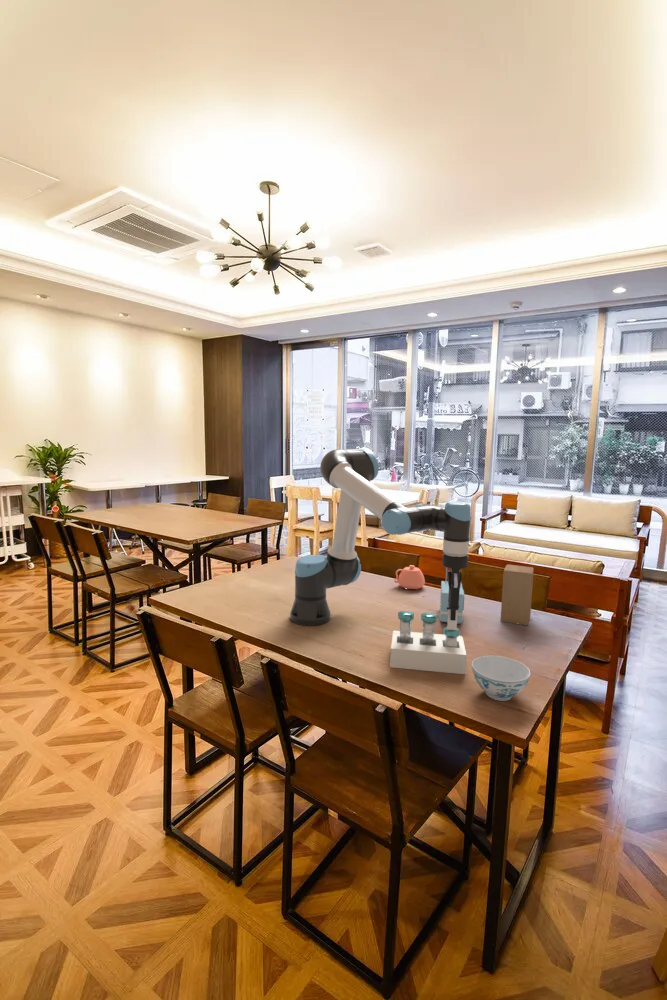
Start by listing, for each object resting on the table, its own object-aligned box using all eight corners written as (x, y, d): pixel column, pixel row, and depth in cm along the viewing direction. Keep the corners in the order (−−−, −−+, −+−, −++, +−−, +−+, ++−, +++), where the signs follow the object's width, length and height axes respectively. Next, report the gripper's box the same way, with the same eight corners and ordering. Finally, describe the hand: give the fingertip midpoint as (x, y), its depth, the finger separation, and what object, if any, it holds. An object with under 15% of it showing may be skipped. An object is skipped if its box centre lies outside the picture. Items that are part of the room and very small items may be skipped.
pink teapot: (426, 591, 225) (427, 569, 223) (395, 591, 225) (396, 568, 224) (422, 583, 237) (423, 562, 236) (392, 582, 237) (393, 561, 236)
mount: (390, 667, 151) (390, 648, 151) (392, 647, 165) (393, 630, 164) (465, 674, 148) (466, 655, 147) (461, 653, 161) (462, 636, 161)
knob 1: (396, 645, 155) (397, 615, 154) (397, 638, 160) (398, 610, 158) (412, 646, 154) (413, 617, 153) (412, 640, 159) (413, 611, 158)
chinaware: (467, 702, 132) (469, 674, 131) (473, 677, 146) (474, 651, 145) (528, 714, 127) (530, 685, 126) (528, 687, 141) (530, 661, 140)
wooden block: (530, 617, 195) (533, 567, 193) (528, 626, 186) (532, 573, 184) (503, 613, 199) (506, 564, 197) (500, 621, 190) (503, 570, 188)
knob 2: (442, 661, 153) (444, 631, 152) (441, 654, 158) (443, 626, 157) (458, 662, 152) (460, 633, 151) (457, 656, 157) (459, 627, 156)
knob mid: (419, 647, 154) (421, 617, 153) (419, 640, 158) (421, 612, 157) (435, 648, 153) (437, 618, 152) (435, 642, 158) (436, 613, 156)
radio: (465, 626, 185) (467, 573, 183) (440, 623, 187) (442, 571, 184) (462, 611, 201) (465, 562, 198) (439, 609, 203) (442, 561, 200)
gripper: (470, 559, 144) (466, 638, 147) (466, 549, 156) (462, 622, 160) (443, 558, 145) (440, 636, 148) (442, 548, 158) (438, 620, 161)
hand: (451, 628), depth 154 cm, fingers closed
